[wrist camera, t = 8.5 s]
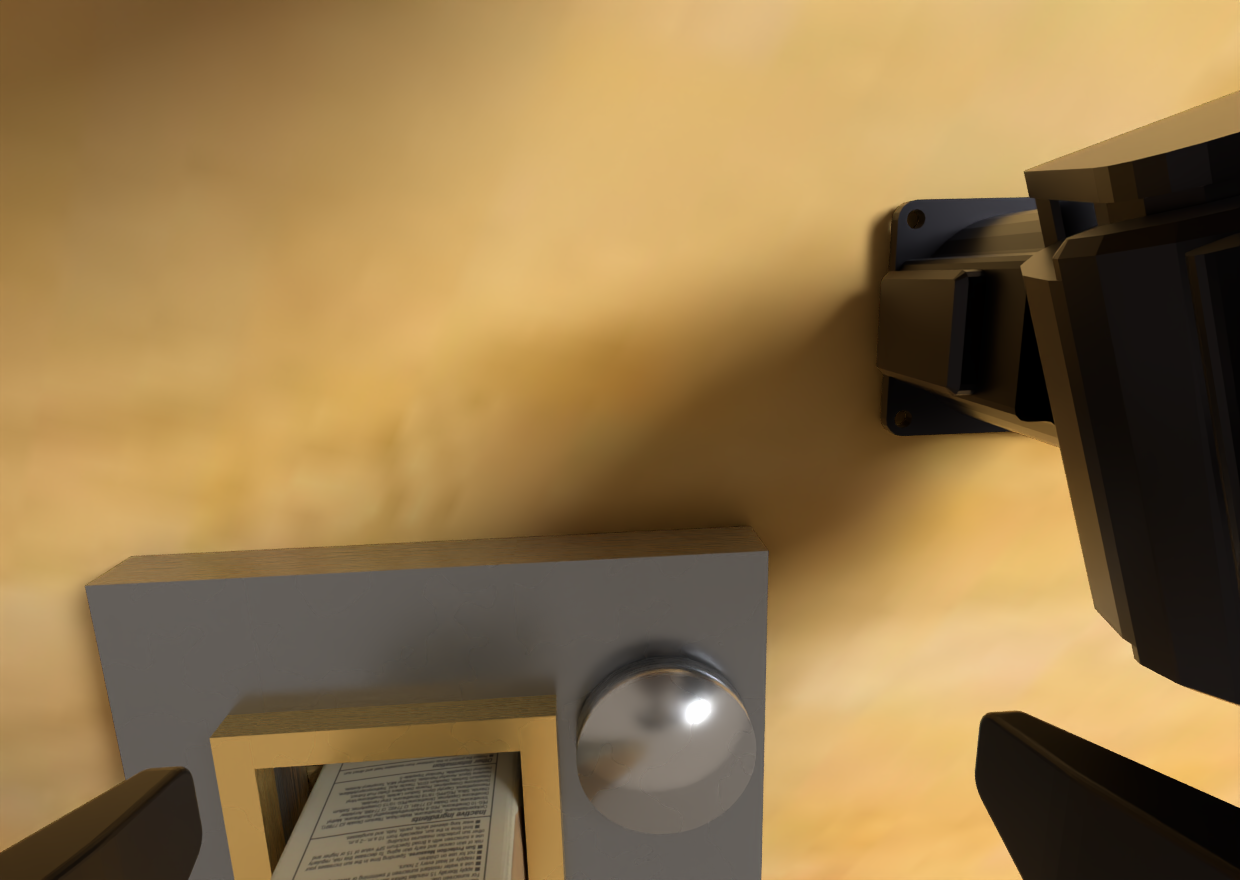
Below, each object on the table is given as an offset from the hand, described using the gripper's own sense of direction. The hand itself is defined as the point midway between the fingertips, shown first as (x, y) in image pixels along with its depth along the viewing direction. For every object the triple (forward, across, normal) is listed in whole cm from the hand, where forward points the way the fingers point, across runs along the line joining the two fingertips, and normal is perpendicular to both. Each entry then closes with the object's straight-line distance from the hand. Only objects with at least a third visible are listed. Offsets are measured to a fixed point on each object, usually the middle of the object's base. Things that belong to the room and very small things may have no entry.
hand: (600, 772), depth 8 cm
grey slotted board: (+13, +4, +10) cm, 17 cm away
